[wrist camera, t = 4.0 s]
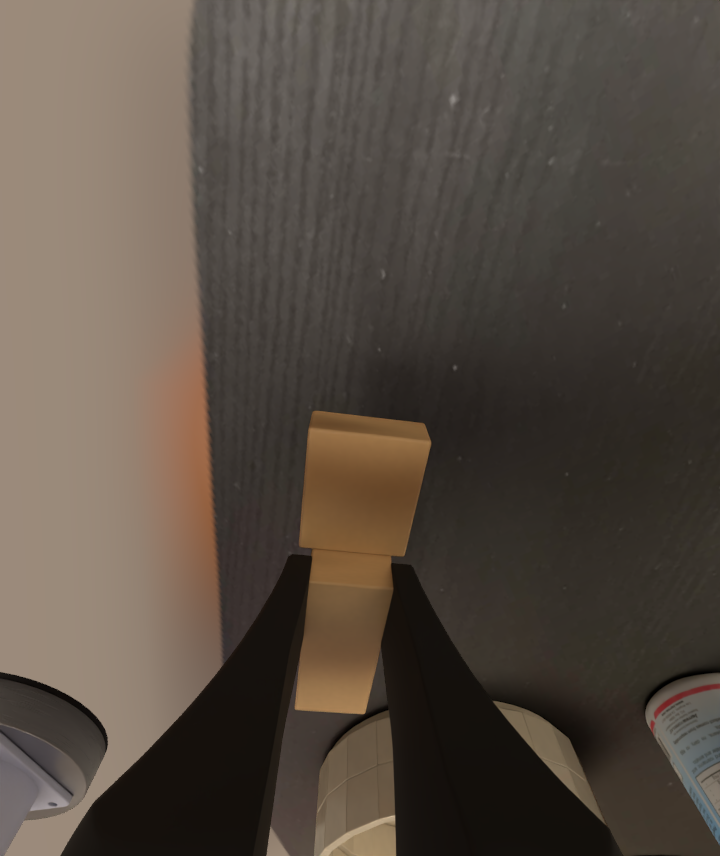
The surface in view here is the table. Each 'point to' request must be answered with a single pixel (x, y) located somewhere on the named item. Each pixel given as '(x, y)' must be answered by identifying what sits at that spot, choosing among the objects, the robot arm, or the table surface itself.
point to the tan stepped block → (353, 548)
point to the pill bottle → (692, 738)
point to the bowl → (374, 782)
